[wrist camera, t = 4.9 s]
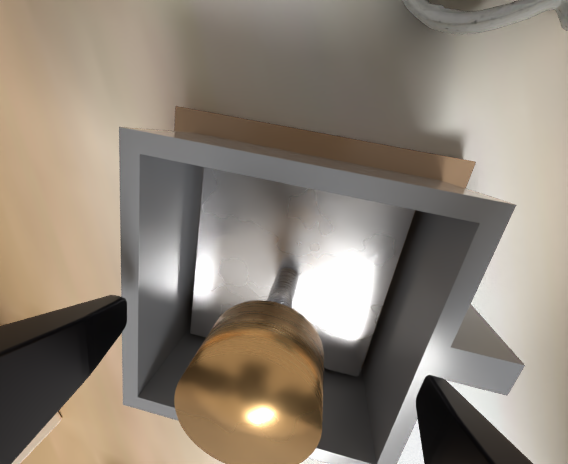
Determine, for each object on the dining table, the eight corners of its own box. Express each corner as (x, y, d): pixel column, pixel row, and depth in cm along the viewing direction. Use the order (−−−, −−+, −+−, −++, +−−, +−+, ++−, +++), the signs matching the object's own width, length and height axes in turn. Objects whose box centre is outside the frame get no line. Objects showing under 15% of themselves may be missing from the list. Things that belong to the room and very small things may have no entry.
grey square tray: (501, 167, 11) (648, 187, 6) (407, 389, 15) (448, 517, 10) (187, 108, 12) (86, 84, 7) (174, 328, 16) (102, 415, 11)
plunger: (412, 202, 11) (543, 295, 4) (356, 367, 13) (384, 582, 7) (210, 162, 12) (51, 187, 5) (195, 325, 14) (80, 484, 8)
